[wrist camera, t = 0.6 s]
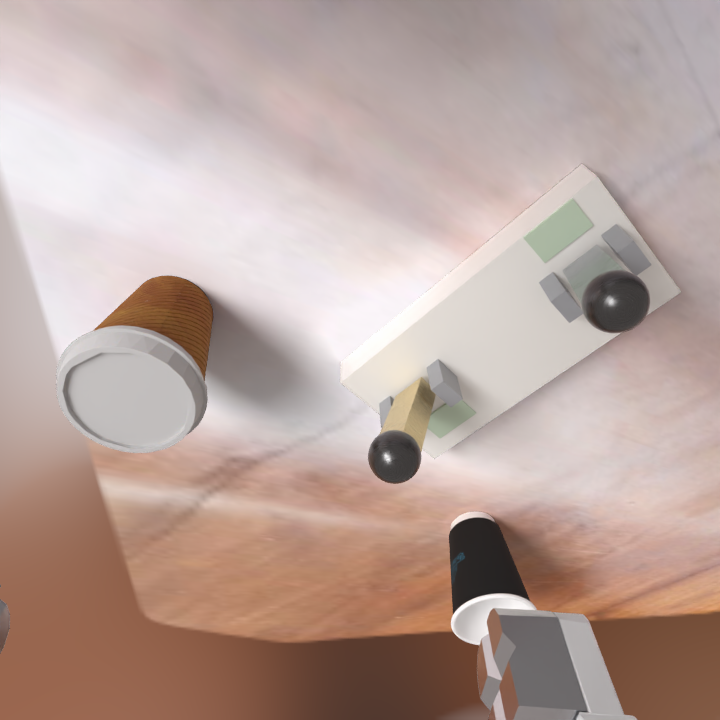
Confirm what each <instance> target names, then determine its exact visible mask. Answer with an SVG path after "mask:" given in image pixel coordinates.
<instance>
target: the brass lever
mask: <svg viewBox="0 0 720 720" xmlns="http://www.w3.org/2000/svg"><path fill="white" fill-rule="evenodd" d="M435 396H436V394H435V393H434V392H433V391H432V390H431V387H430V385H429V384H428V383H427V382H426V381H425V380H424V379H423V377H421V378H419V379H418V380H417V381H415V382H414V383H413V384H411V385H410V386H409V387H407V388H406V389H405V390H403V391H402V392H401V393H399V394H398V395H397V396H396V397H395V399H394V401H393V404H392V406H391V409H390V411H389V413H388V416H387V418H386V420H385V423H384V425H383V427H382V430H381V432H380V435H379V436H377V437H376V438H375V439H374V441H373V442H372V444H371V446H370V449H369V453H368V460H369V465H370V467H371V469H372V471H373V473H374V474H375V475H376V476H377V477H378V478H379V479H381V480H383V481H385V482H387V483H393V484H398V483H402V482H405V481H407V480H409V479H410V478H412V477H413V476H414V475H415V474H416V472H417V471H418V469H419V467H420V463H421V451H422V447H423V443H424V439H425V435H426V431H427V427H428V423H429V420H430V416H431V412H432V408H433V404H434V400H435Z"/></svg>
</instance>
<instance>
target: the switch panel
mask: <svg viewBox="0 0 720 720" xmlns="http://www.w3.org/2000/svg"><path fill="white" fill-rule="evenodd" d="M596 245H598V246H599V247H600V248H601V249H602V250H603V251H604V252H605V253H607V254H608V255H609V256H610V257H611V258H612V259H613V260H614V261H616V262H617V263H618V264H619V265H620V266H621V267H622V268H623V269H625V270H626V271H627V272H630V273H633V274H635V275H636V276H638V277H639V278H640V279H641V280H642V281H643V282H644V283H645V285H646V286H647V288H648V290H649V294H650V307H649V311H648V313H647V315H648V314H650V313H651V312H653V311H654V310H656V309H657V308H659V307H660V306H662V305H663V304H665V303H666V302H668V301H669V300H671V299H672V298H674V297H675V296H677V295H678V294H680V293H681V291H680V289H679V288H678V286H677V285H676V284H675V282H674V281H673V280H672V278H671V277H670V275H669V274H668V273H667V271H666V270H665V269H664V267H663V266H662V264H661V263H660V262H659V260H658V259H657V258H656V256H655V255H654V253H653V252H652V251H651V249H650V248H649V247H648V245H647V244H646V242H645V241H644V240H643V238H642V237H641V236H640V234H639V233H638V232H637V230H636V229H635V227H634V226H633V225H632V223H631V222H630V221H629V219H628V218H627V216H626V215H625V214H624V212H623V211H622V210H621V208H620V207H619V205H618V204H617V203H616V201H615V200H614V199H613V197H612V196H611V194H610V193H609V192H608V190H607V189H606V188H605V186H604V185H603V183H602V182H601V181H600V179H599V178H598V177H597V176H596V175H595V174H594V173H593V172H592V171H590V170H589V169H588V168H587V167H585V166H584V165H583V164H581V165H580V166H578V167H577V168H576V169H575V170H574V171H572V172H571V173H570V174H569V175H567V176H566V177H565V178H564V179H563V180H561V181H560V182H559V183H558V184H557V185H555V186H554V187H553V188H552V189H550V190H549V191H548V192H547V193H546V194H544V195H543V196H542V197H541V198H540V199H538V200H537V201H536V202H535V203H533V204H532V205H531V206H530V207H529V208H527V209H526V210H525V211H524V212H523V213H521V214H520V215H519V216H518V217H516V218H515V219H514V220H513V221H512V222H510V223H509V224H508V225H507V226H506V227H504V228H503V229H502V230H501V231H499V232H498V233H497V234H496V235H495V236H493V237H492V238H491V239H490V240H489V241H487V242H486V243H485V244H484V245H482V246H481V247H480V248H479V249H478V250H476V251H475V252H474V253H473V254H472V255H470V256H469V257H468V258H467V259H465V260H464V261H463V262H462V263H461V264H459V265H458V266H457V267H456V268H455V269H453V270H452V271H451V272H450V273H448V274H447V275H446V276H445V277H444V278H442V279H441V280H440V281H439V282H438V283H436V284H435V285H434V286H433V287H431V288H430V289H429V290H428V291H427V292H425V293H424V294H423V295H422V296H421V297H419V298H418V299H417V300H416V301H414V302H413V303H412V304H411V305H410V306H408V307H407V308H406V309H405V310H404V311H402V312H401V313H400V314H399V315H397V316H396V317H395V318H394V319H393V320H391V321H390V322H389V323H388V324H387V325H385V326H384V327H383V328H382V329H380V330H379V331H378V332H377V333H376V334H374V335H373V336H372V337H371V338H370V339H368V340H367V341H366V342H365V343H363V344H362V345H361V346H360V347H359V348H357V349H356V350H355V351H354V352H353V353H351V354H350V355H349V356H348V357H346V358H345V359H344V360H343V361H342V362H341V368H340V383H341V384H342V385H343V386H345V387H346V388H347V389H348V390H350V391H351V392H352V393H353V394H355V395H356V396H357V397H358V398H359V399H361V400H362V401H363V402H364V403H366V404H367V405H368V406H369V407H371V408H372V409H373V410H374V411H376V412H377V413H378V414H379V415H380V421H381V427H383V425H384V423H385V420H386V418H387V416H388V413H389V411H390V409H391V406H392V404H393V401H394V399H395V397H396V396H397V395H398V394H399V393H401V392H402V391H403V390H405V389H406V388H407V387H409V386H410V385H411V384H413V383H414V382H415V381H417V380H418V379H419V378H421V377H423V379H424V380H425V381H426V382H427V383H428V384H429V385H430V387H431V390H432V391H433V392H434V393H435V394H436V396H435V400H434V404H433V408H432V412H431V416H430V420H429V423H428V427H427V431H426V435H425V439H424V443H423V447H422V449H423V450H424V451H425V452H426V453H428V454H429V455H430V456H431V457H432V458H434V459H435V458H437V457H438V456H440V455H441V454H443V453H444V452H446V451H447V450H449V449H450V448H452V447H453V446H455V445H456V444H458V443H459V442H461V441H462V440H464V439H465V438H467V437H468V436H469V435H471V434H472V433H474V432H475V431H477V430H478V429H480V428H481V427H483V426H484V425H486V424H487V423H489V422H490V421H492V420H493V419H495V418H496V417H498V416H499V415H501V414H502V413H504V412H505V411H506V410H508V409H509V408H511V407H512V406H514V405H515V404H517V403H518V402H520V401H521V400H523V399H524V398H526V397H527V396H529V395H530V394H532V393H533V392H535V391H536V390H538V389H539V388H540V387H542V386H543V385H545V384H546V383H548V382H549V381H551V380H552V379H554V378H555V377H557V376H558V375H560V374H561V373H563V372H564V371H566V370H567V369H569V368H570V367H572V366H573V365H575V364H576V363H577V362H579V361H580V360H582V359H583V358H585V357H586V356H588V355H589V354H591V353H592V352H594V351H595V350H597V349H598V348H600V347H601V346H603V345H604V344H606V343H607V342H609V341H610V340H611V339H613V338H614V337H616V336H617V335H619V334H620V333H606V332H603V331H600V330H598V329H596V328H595V327H593V326H592V325H591V324H590V323H589V322H588V321H587V319H586V318H585V316H584V314H583V311H582V306H581V302H580V301H579V299H578V297H577V295H576V294H575V292H574V290H573V288H572V287H571V285H570V283H569V281H568V280H567V278H566V276H565V274H564V273H563V271H562V270H564V269H565V268H566V267H568V266H569V265H570V264H572V263H573V262H574V261H576V260H577V259H578V258H580V257H581V256H582V255H584V254H585V253H586V252H588V251H589V250H590V249H592V248H593V247H594V246H596ZM647 315H646V316H647Z"/></svg>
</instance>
